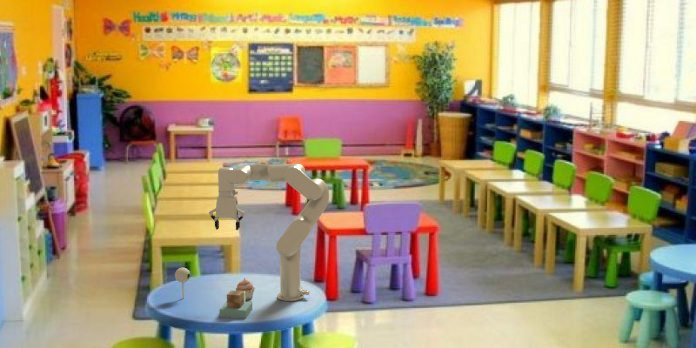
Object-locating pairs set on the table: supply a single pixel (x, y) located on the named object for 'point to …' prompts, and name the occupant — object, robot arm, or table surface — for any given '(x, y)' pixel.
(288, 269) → the robot arm
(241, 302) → the walnut cube
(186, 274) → the lollipop
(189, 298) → the table surface
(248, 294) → the cupcake
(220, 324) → the table surface
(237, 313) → the base block
